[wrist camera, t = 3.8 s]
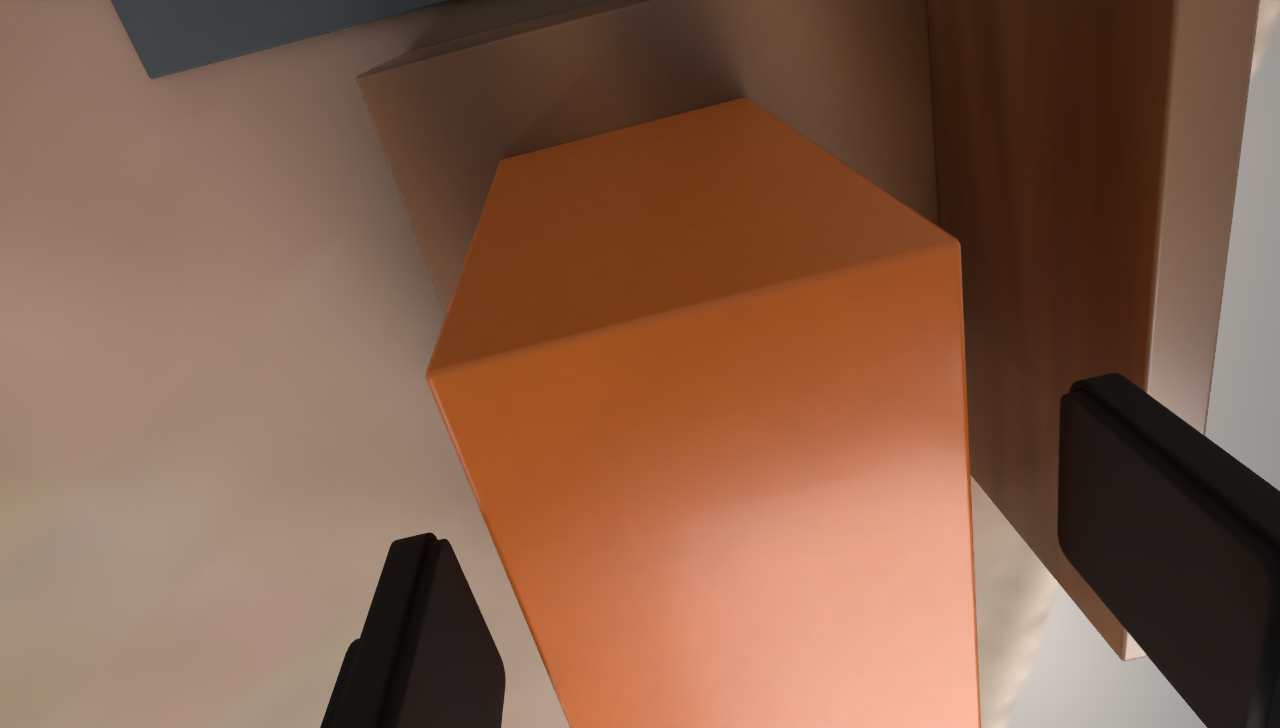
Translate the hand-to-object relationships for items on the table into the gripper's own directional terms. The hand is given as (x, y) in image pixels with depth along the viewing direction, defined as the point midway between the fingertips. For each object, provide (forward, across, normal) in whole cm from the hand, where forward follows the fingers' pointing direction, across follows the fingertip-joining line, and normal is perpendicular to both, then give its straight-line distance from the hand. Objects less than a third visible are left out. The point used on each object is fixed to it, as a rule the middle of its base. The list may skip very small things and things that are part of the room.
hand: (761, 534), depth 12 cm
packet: (+10, +1, 0) cm, 10 cm away
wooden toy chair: (+16, -1, 0) cm, 16 cm away
